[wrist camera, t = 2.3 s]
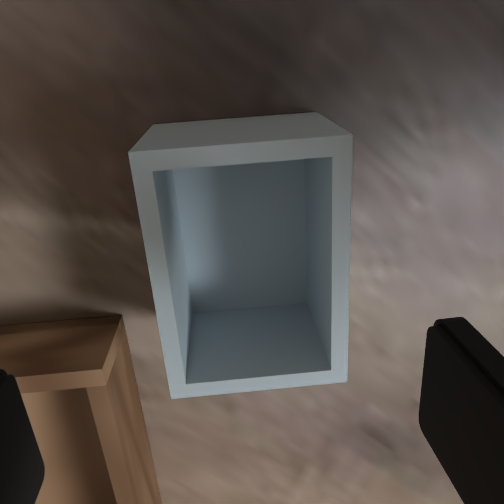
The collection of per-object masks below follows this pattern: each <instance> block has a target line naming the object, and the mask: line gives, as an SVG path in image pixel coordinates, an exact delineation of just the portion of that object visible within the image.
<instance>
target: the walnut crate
mask: <svg viewBox="0 0 504 504" xmlns="http://www.w3.org/2000/svg"><path fill="white" fill-rule="evenodd" d="M0 369H3V370H5V371H6V373H7V375H10V374H11V375H13V376H14V377H15V379H16V381H17V384H18V387H19V390H20V393H21V396H22V399H23V402H24V405H25V408H26V411H27V414H28V417H29V420H30V423H31V426H32V429H33V432H34V435H35V438H36V441H37V444H38V447H39V450H40V453H41V456H42V459H43V462H44V466H45V475H44V480H43V484H42V486H41V489H40V491H39V494H38V497H37V499H36V502H35V504H162V502H161V497H160V493H159V488H158V483H157V478H156V474H155V469H154V464H153V459H152V455H151V450H150V445H149V440H148V436H147V431H146V426H145V421H144V417H143V412H142V407H141V402H140V398H139V393H138V388H137V383H136V379H135V374H134V369H133V364H132V360H131V355H130V350H129V345H128V341H127V336H126V331H125V326H124V322H123V317H122V315H116V316H105V317H94V318H83V319H72V320H61V321H50V322H39V323H28V324H17V325H6V326H0Z"/></svg>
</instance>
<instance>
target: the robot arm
mask: <svg viewBox="0 0 504 504" xmlns="http://www.w3.org/2000/svg"><path fill="white" fill-rule="evenodd" d="M419 424H420V427H421V430H422V432H423V434H424V436H425V438H426V439H427V441H428V443H429V444H430V446H431V448H432V450H433V451H434V453H435V455H436V456H437V458H438V460H439V461H440V463H441V465H442V467H443V468H444V470H445V472H446V473H447V475H448V477H449V478H450V480H451V482H452V484H453V485H454V487H455V489H456V490H457V492H458V494H459V496H460V497H461V499H462V501H463V502H464V504H504V357H503V356H502V355H501V354H500V353H499V352H498V351H497V350H496V349H495V348H494V347H493V346H492V345H491V344H490V343H489V342H488V341H487V340H486V339H485V338H484V337H483V336H482V335H481V334H480V333H479V332H478V331H477V330H476V329H475V328H474V327H473V326H472V325H471V324H470V323H469V322H468V321H467V320H466V319H465V318H463V317H455V318H446V319H438V320H436V321H435V323H434V326H431V327H429V328H428V330H427V338H426V348H425V357H424V367H423V377H422V387H421V397H420V407H419ZM44 475H45V466H44V462H43V459H42V456H41V453H40V450H39V447H38V444H37V441H36V438H35V435H34V432H33V429H32V426H31V423H30V420H29V417H28V414H27V411H26V408H25V405H24V402H23V399H22V396H21V393H20V390H19V387H18V384H17V381H16V379H15V377H14V376H13V375H11V374H10V375H7V373H6V371H5V370H3V369H0V504H35V502H36V499H37V497H38V494H39V491H40V489H41V486H42V484H43V480H44Z"/></svg>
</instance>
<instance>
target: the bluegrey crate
mask: <svg viewBox="0 0 504 504" xmlns="http://www.w3.org/2000/svg"><path fill="white" fill-rule="evenodd" d="M128 155H129V161H130V167H131V172H132V178H133V184H134V189H135V195H136V201H137V207H138V212H139V218H140V224H141V229H142V235H143V241H144V247H145V252H146V258H147V264H148V269H149V275H150V281H151V287H152V292H153V298H154V304H155V309H156V315H157V321H158V327H159V332H160V338H161V344H162V349H163V355H164V361H165V367H166V372H167V378H168V384H169V389H170V395H171V399H176V398H186V397H196V396H207V395H217V394H227V393H237V392H248V391H258V390H268V389H278V388H289V387H299V386H309V385H319V384H330V383H340V382H347V369H348V327H349V285H350V242H351V200H352V158H353V134H351V133H350V132H348V131H347V130H345V129H343V128H342V127H340V126H338V125H337V124H335V123H333V122H332V121H330V120H329V119H327V118H325V117H324V116H322V115H320V114H319V113H317V112H308V113H295V114H282V115H269V116H255V117H242V118H229V119H216V120H203V121H190V122H177V123H164V124H153V125H152V126H151V127H150V128H149V130H148V131H147V132H146V133H145V134H144V135H143V136H142V137H141V138H140V140H139V141H138V142H137V143H136V144H135V145H134V146H133V147H132V148H131V149H130V151H129V152H128Z"/></svg>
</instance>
